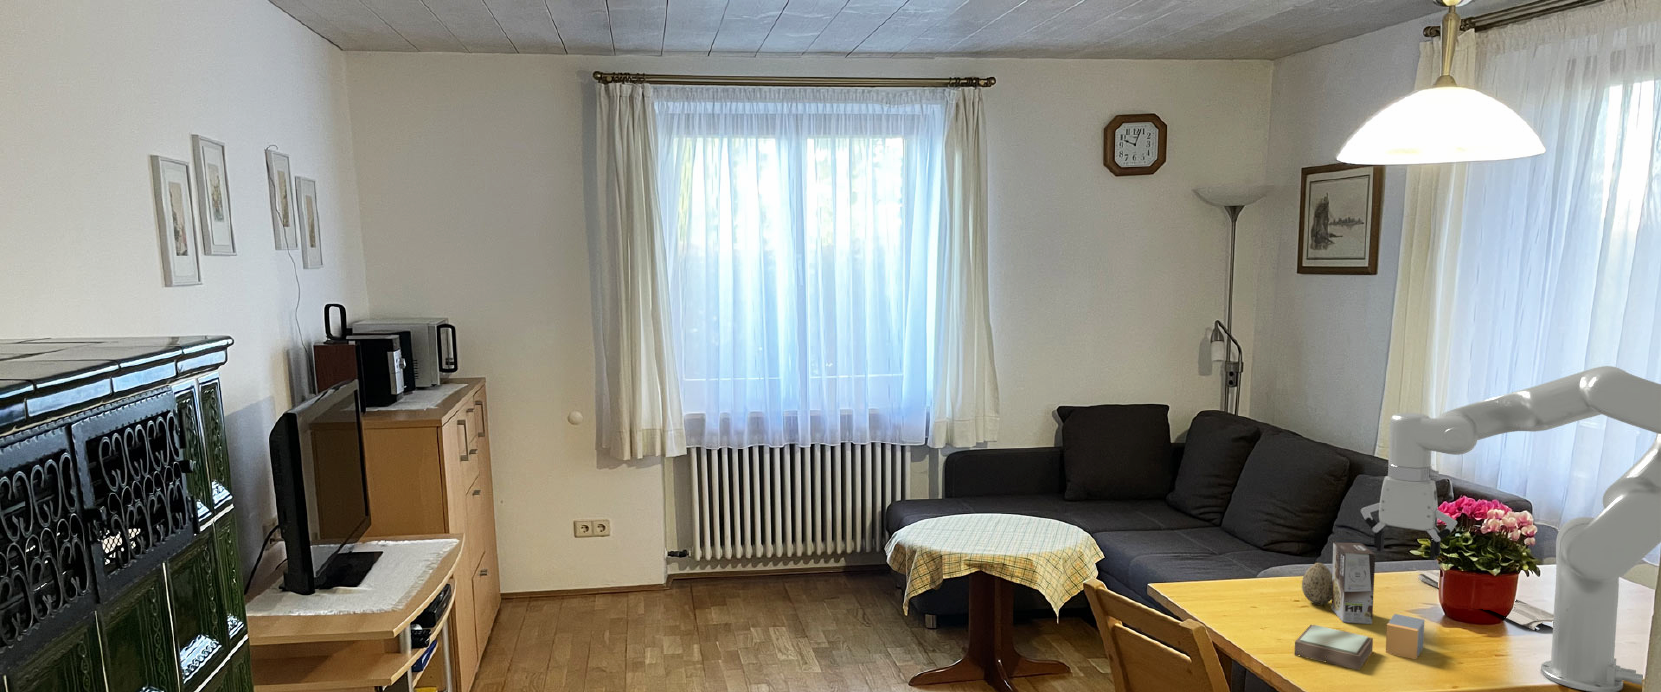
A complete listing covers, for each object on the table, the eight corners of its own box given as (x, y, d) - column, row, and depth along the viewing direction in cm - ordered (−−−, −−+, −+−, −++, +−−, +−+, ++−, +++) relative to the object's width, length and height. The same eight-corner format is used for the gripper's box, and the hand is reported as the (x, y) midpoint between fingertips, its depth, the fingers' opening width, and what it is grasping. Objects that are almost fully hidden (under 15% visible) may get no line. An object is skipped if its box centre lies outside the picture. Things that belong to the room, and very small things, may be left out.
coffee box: (1373, 624, 216) (1376, 554, 215) (1342, 622, 218) (1345, 552, 216) (1360, 610, 225) (1362, 542, 224) (1330, 608, 227) (1332, 541, 225)
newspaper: (1575, 630, 213) (1576, 615, 213) (1525, 634, 211) (1526, 618, 211) (1449, 578, 248) (1450, 565, 248) (1406, 581, 246) (1406, 568, 246)
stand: (1372, 651, 202) (1373, 636, 202) (1359, 670, 193) (1359, 654, 193) (1310, 637, 210) (1310, 622, 209) (1294, 654, 201) (1295, 639, 200)
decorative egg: (1339, 603, 230) (1340, 562, 229) (1329, 611, 225) (1330, 569, 224) (1307, 596, 235) (1308, 556, 234) (1296, 604, 230) (1298, 562, 229)
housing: (1423, 647, 204) (1424, 619, 203) (1416, 659, 198) (1417, 631, 197) (1393, 640, 207) (1394, 613, 207) (1385, 652, 201) (1386, 624, 201)
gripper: (1461, 475, 197) (1458, 557, 198) (1366, 465, 208) (1364, 542, 210) (1455, 482, 191) (1452, 566, 193) (1358, 471, 203) (1355, 551, 204)
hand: (1406, 554), depth 201 cm, fingers open, 9 cm apart
